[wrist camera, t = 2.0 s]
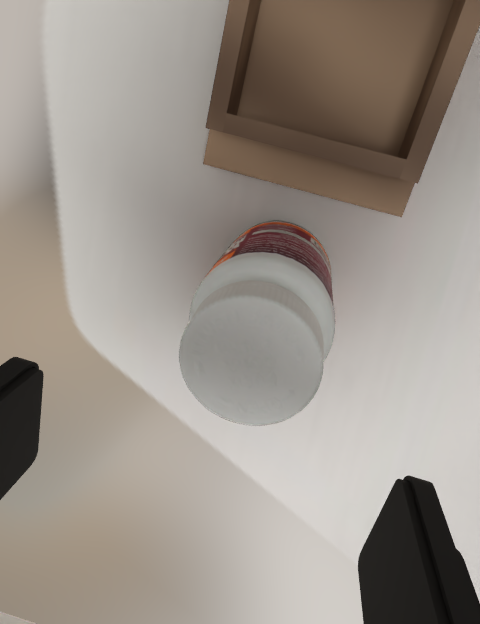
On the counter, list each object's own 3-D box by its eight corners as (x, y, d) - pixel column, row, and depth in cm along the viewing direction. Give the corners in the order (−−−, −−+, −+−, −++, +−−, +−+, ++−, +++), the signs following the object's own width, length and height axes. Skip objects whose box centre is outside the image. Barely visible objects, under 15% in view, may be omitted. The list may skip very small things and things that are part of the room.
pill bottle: (234, 210, 25) (170, 262, 14) (343, 230, 24) (359, 301, 14) (219, 309, 27) (155, 416, 17) (318, 330, 26) (315, 455, 16)
